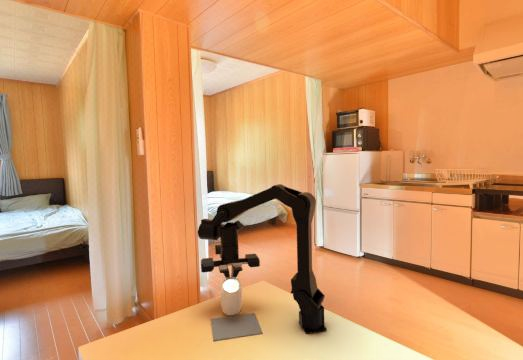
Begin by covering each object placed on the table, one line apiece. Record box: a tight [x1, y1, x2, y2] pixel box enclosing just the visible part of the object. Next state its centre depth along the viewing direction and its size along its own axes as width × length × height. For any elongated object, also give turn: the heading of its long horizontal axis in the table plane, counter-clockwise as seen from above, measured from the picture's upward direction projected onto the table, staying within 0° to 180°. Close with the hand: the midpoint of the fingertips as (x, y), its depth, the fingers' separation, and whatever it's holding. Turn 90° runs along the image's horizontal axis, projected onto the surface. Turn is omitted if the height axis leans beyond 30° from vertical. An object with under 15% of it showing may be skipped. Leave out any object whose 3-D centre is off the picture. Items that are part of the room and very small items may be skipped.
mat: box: [210, 312, 264, 342], centre depth 93 cm, size 14×12×1 cm
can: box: [220, 276, 243, 316], centre depth 98 cm, size 6×6×12 cm
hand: (231, 288), depth 101 cm, fingers closed
